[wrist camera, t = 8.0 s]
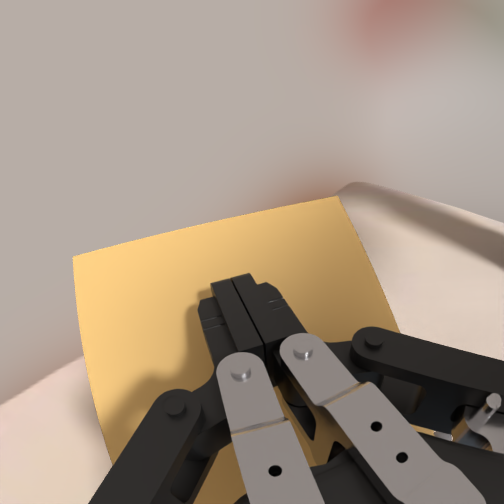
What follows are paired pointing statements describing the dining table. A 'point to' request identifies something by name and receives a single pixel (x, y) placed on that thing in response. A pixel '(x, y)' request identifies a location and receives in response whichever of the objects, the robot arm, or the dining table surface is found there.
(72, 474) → the dining table surface
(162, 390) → the yellow plate
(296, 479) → the robot arm
